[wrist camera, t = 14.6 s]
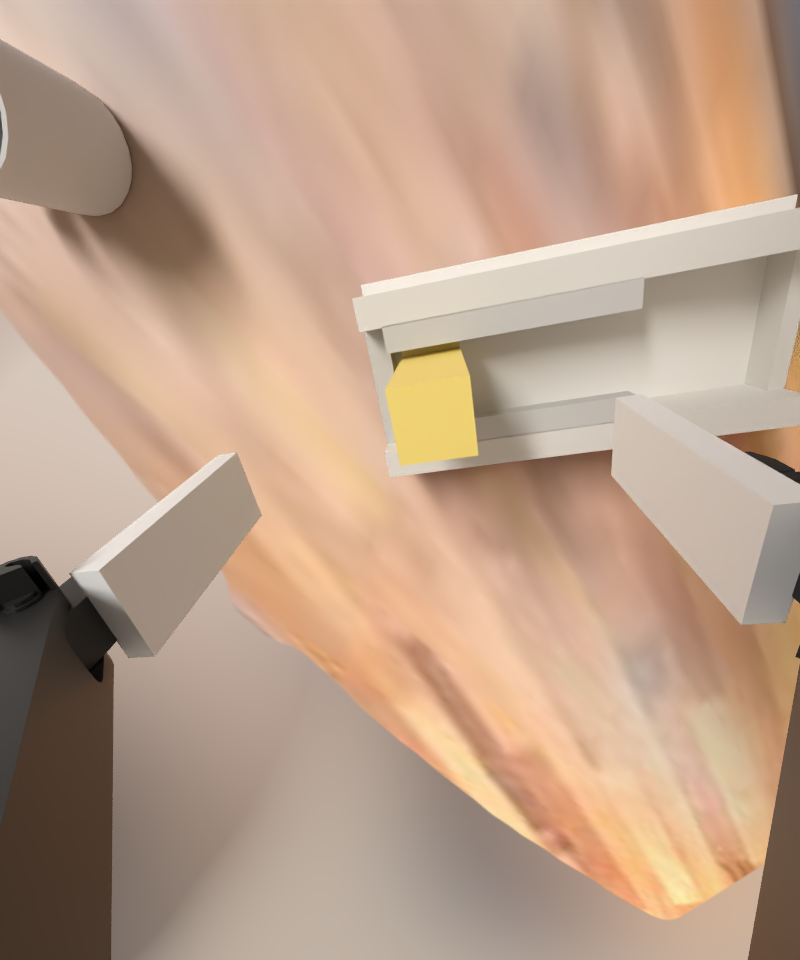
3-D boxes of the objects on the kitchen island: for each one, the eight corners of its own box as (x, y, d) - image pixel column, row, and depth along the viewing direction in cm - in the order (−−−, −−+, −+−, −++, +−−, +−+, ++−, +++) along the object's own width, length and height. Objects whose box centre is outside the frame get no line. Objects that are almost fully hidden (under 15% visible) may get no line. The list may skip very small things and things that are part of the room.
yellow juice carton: (401, 333, 29) (379, 359, 18) (456, 323, 28) (466, 343, 17) (416, 421, 32) (405, 489, 21) (466, 414, 31) (481, 480, 20)
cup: (156, 193, 27) (39, 153, 19) (49, 248, 29) (-97, 233, 21) (91, 60, 24) (-78, -51, 16) (-23, 132, 27) (-220, 65, 19)
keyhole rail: (363, 285, 29) (349, 284, 24) (784, 197, 24) (862, 176, 20) (398, 461, 34) (391, 486, 30) (743, 415, 30) (796, 437, 26)
